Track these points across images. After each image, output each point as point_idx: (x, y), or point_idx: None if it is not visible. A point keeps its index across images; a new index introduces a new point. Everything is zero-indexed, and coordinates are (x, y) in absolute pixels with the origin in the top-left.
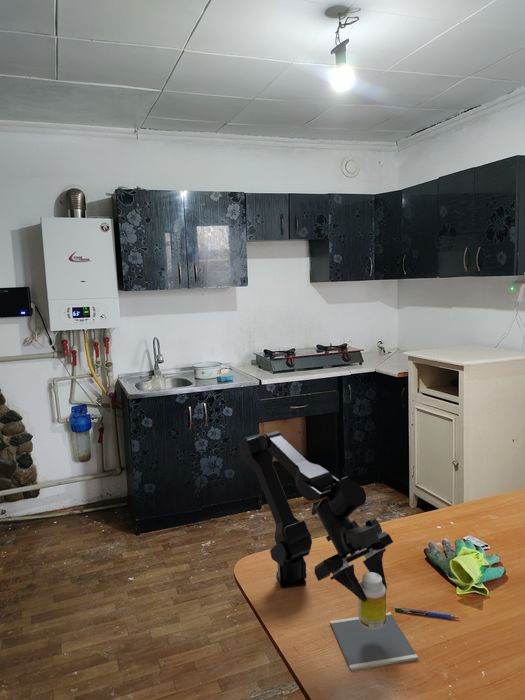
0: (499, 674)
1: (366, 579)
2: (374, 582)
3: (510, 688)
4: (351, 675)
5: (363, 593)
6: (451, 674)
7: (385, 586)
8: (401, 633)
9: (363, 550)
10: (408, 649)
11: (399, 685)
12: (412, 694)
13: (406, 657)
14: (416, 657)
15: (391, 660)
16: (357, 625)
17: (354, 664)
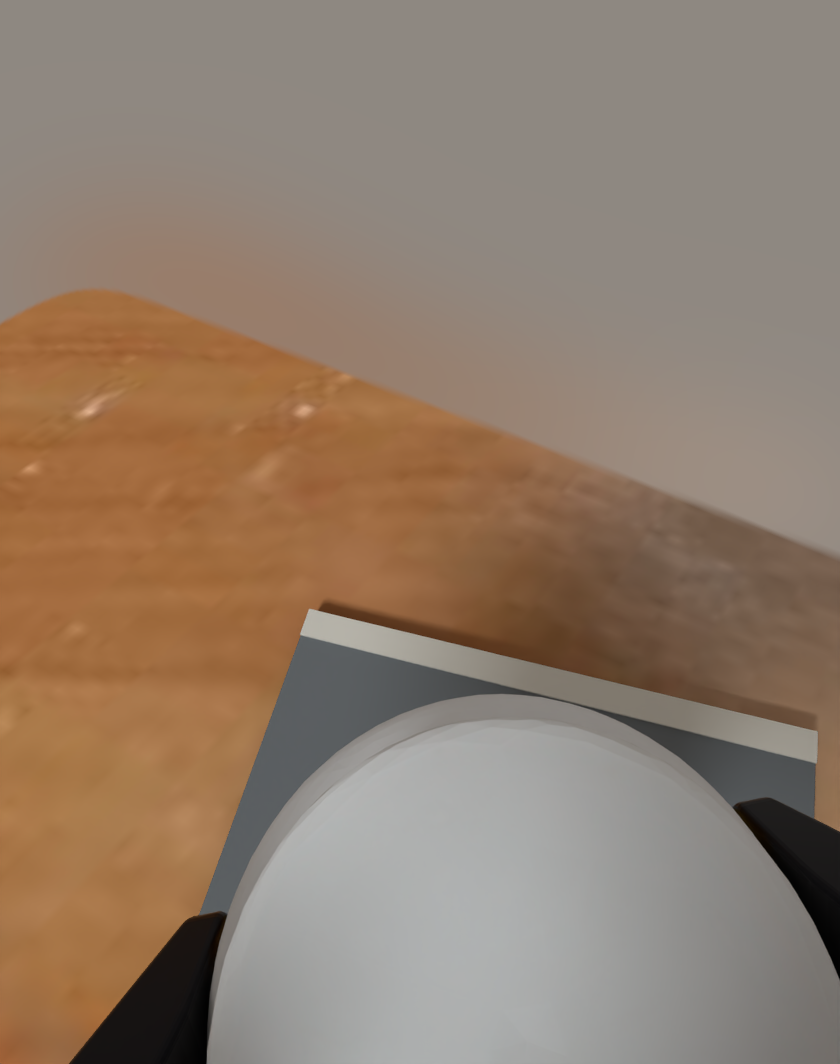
0: (38, 372)
1: (775, 1042)
2: (600, 761)
3: (81, 306)
4: (815, 698)
5: (834, 863)
6: (235, 457)
7: (195, 942)
8: (227, 874)
9: None
10: (311, 697)
11: (551, 509)
12: (521, 438)
13: (378, 639)
14: (319, 611)
15: (490, 662)
16: None
17: (774, 747)
